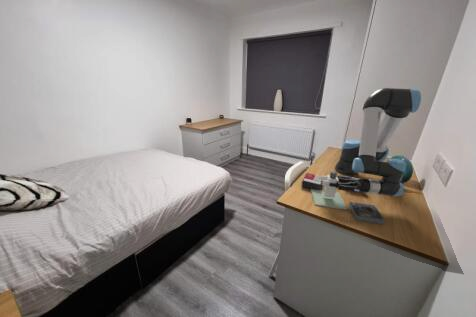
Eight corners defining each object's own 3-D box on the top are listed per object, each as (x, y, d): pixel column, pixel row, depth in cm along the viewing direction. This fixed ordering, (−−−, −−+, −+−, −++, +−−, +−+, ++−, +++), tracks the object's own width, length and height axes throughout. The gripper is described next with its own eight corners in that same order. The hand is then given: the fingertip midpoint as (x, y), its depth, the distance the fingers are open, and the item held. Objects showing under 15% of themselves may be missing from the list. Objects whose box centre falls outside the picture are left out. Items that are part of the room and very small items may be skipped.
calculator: (323, 176, 130) (321, 184, 117) (322, 182, 131) (319, 190, 118) (306, 172, 134) (302, 179, 121) (305, 178, 136) (301, 185, 123)
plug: (322, 191, 113) (327, 170, 108) (332, 193, 112) (337, 171, 107) (324, 196, 108) (330, 174, 103) (334, 197, 107) (340, 175, 102)
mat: (310, 189, 120) (310, 189, 120) (338, 193, 117) (338, 192, 117) (314, 205, 106) (315, 204, 105) (346, 209, 103) (347, 208, 103)
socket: (348, 205, 106) (349, 201, 105) (372, 209, 104) (374, 205, 103) (356, 220, 95) (357, 216, 94) (383, 224, 93) (385, 220, 92)
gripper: (372, 201, 97) (323, 194, 101) (359, 183, 114) (317, 178, 117) (377, 188, 94) (326, 182, 98) (363, 172, 111) (319, 167, 115)
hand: (321, 180), depth 108 cm, fingers closed on plug, 5 cm apart
